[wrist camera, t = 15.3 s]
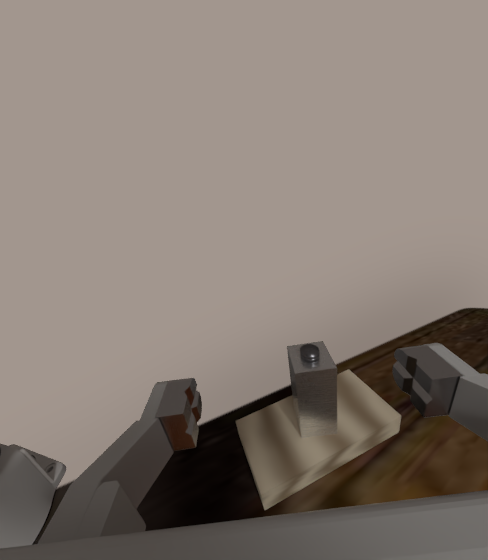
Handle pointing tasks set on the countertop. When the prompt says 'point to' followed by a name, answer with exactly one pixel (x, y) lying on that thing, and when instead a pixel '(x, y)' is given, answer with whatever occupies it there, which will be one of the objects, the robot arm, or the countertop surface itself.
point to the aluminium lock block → (313, 389)
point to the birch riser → (312, 439)
